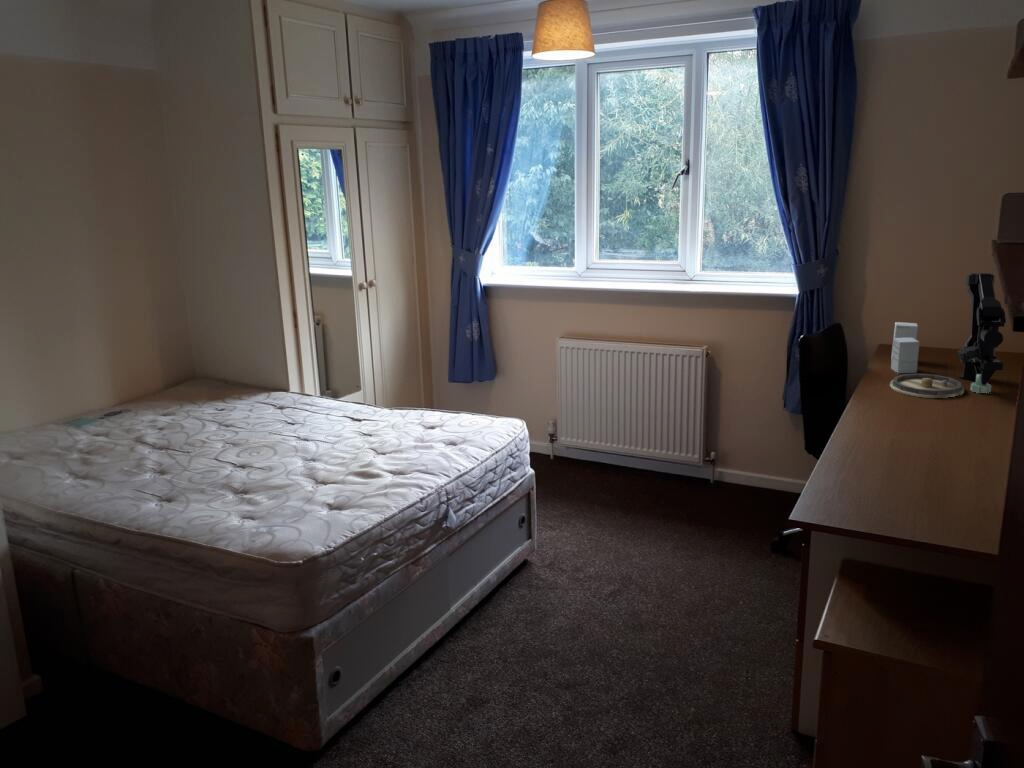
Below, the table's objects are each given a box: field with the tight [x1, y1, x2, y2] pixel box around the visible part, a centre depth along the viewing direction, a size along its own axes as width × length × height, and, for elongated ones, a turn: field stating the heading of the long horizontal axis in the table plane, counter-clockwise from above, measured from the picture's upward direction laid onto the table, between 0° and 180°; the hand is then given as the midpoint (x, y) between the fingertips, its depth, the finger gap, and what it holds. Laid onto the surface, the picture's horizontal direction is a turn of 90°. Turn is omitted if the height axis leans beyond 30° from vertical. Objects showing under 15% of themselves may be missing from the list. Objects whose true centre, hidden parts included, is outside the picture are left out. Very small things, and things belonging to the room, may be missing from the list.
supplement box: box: [890, 337, 920, 374], centre depth 309 cm, size 7×7×13 cm
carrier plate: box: [889, 373, 965, 399], centre depth 287 cm, size 24×24×4 cm
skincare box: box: [890, 321, 919, 361], centre depth 321 cm, size 8×7×16 cm
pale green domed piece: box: [969, 374, 992, 394], centre depth 281 cm, size 6×6×6 cm
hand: (981, 383), depth 281 cm, fingers closed on pale green domed piece, 4 cm apart
